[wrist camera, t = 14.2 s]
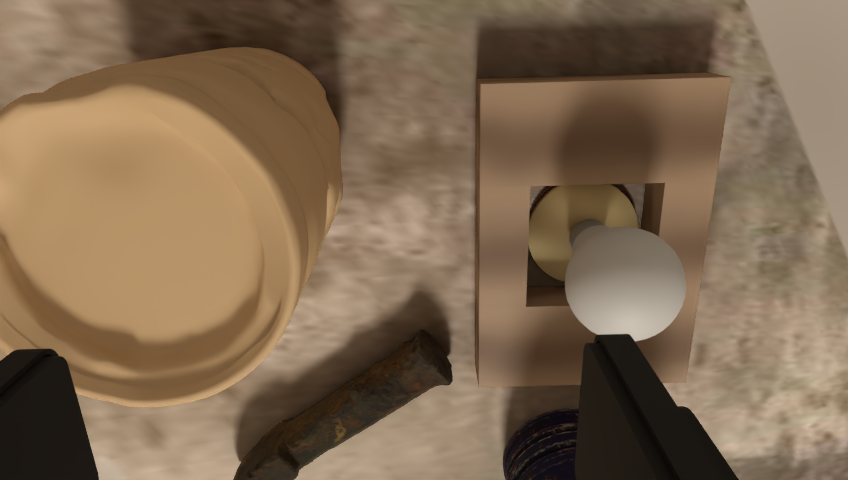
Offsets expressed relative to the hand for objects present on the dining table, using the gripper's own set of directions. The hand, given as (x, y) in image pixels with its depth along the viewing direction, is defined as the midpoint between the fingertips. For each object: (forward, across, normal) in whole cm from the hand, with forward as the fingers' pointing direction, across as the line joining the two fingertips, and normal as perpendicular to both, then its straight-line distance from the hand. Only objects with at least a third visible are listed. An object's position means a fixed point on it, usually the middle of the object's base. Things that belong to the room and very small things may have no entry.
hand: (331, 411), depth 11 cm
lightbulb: (+28, -12, +7) cm, 31 cm away
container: (+28, +9, +1) cm, 30 cm away
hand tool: (+29, +5, +21) cm, 36 cm away
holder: (+28, -12, +7) cm, 32 cm away
